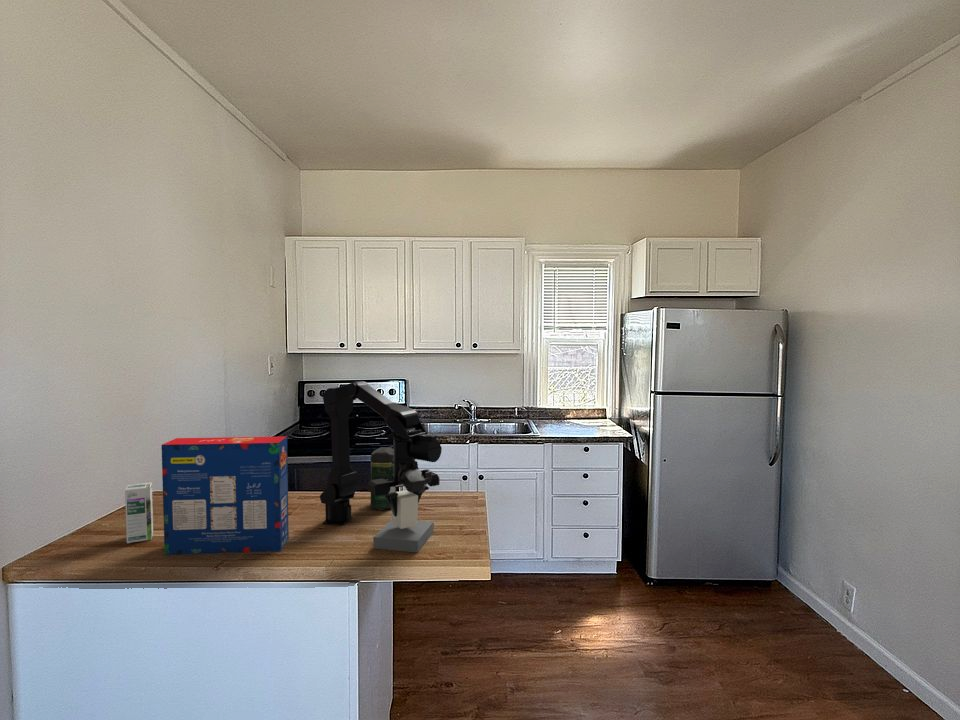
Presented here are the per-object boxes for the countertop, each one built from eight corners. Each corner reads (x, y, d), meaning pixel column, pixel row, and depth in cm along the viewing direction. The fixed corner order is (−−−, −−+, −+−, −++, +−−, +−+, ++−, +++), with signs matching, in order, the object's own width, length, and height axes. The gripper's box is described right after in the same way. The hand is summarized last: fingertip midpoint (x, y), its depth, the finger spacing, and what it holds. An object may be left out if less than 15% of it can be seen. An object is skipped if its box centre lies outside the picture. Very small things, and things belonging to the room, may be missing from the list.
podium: (373, 548, 136) (373, 537, 136) (393, 528, 150) (393, 518, 150) (417, 552, 134) (417, 541, 134) (433, 532, 147) (433, 521, 147)
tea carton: (391, 521, 143) (391, 492, 142) (408, 518, 145) (408, 489, 145) (400, 528, 138) (400, 498, 137) (417, 525, 140) (418, 495, 140)
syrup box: (126, 544, 138) (124, 489, 137) (129, 536, 143) (127, 483, 142) (151, 540, 141) (150, 486, 140) (153, 532, 146) (152, 481, 145)
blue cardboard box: (288, 538, 142) (287, 436, 141) (280, 551, 134) (278, 442, 133) (179, 542, 139) (176, 438, 138) (164, 555, 131) (161, 444, 130)
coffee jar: (393, 510, 165) (393, 452, 164) (368, 510, 165) (368, 452, 164) (398, 500, 174) (398, 445, 173) (374, 500, 174) (374, 445, 173)
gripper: (383, 468, 129) (384, 531, 130) (449, 458, 139) (449, 516, 140) (366, 459, 138) (367, 517, 139) (429, 450, 148) (429, 504, 149)
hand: (404, 514), depth 141 cm, fingers closed on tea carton, 5 cm apart
